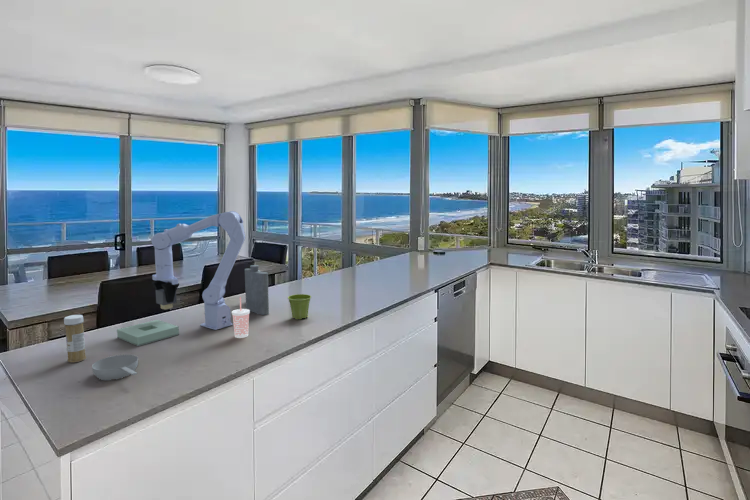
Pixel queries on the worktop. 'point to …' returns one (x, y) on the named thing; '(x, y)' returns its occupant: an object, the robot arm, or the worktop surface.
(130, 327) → the socket block
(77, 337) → the sprinkles bottle
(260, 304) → the hip flask
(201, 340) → the worktop surface
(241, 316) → the beverage cup
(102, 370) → the small pan
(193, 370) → the worktop surface
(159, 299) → the plug
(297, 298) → the plant pot
